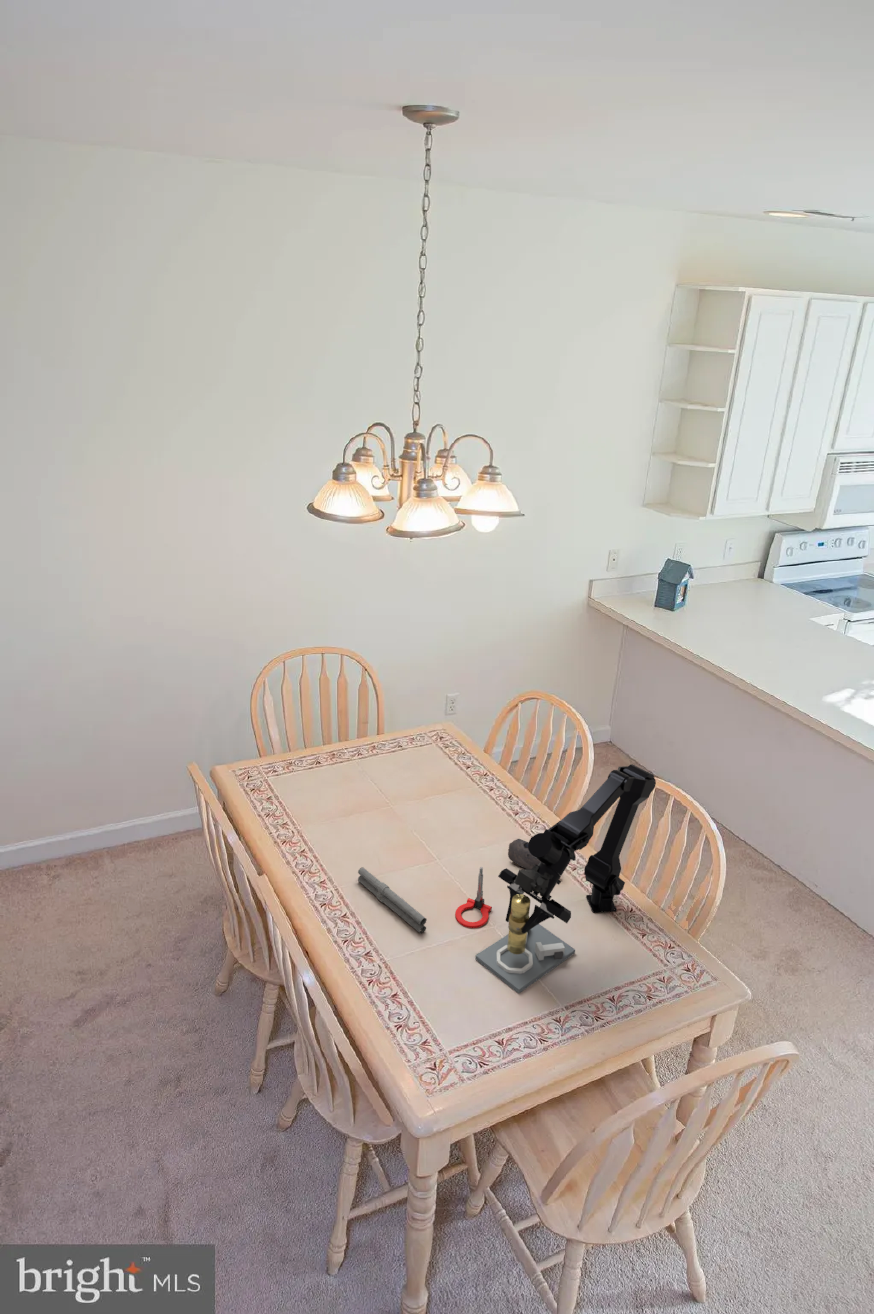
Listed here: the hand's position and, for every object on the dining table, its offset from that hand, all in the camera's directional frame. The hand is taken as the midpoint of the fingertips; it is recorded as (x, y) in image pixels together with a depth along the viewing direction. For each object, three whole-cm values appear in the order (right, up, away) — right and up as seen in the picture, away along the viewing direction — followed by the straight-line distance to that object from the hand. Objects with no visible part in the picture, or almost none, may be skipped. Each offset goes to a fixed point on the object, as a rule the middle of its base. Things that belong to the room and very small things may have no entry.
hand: (514, 927), depth 201 cm
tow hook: (-9, -4, +21) cm, 23 cm away
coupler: (+1, -6, +4) cm, 7 cm away
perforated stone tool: (+9, +4, +39) cm, 40 cm away
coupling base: (+3, -9, +8) cm, 13 cm away
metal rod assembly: (-30, -2, +23) cm, 37 cm away
